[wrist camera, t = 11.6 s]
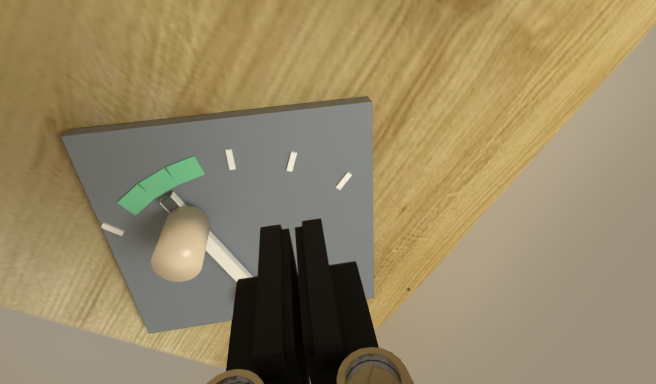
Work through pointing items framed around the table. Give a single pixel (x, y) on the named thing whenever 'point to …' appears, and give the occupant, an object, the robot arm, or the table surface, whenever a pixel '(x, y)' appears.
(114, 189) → the dial board
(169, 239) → the tuning lever
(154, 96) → the table surface
